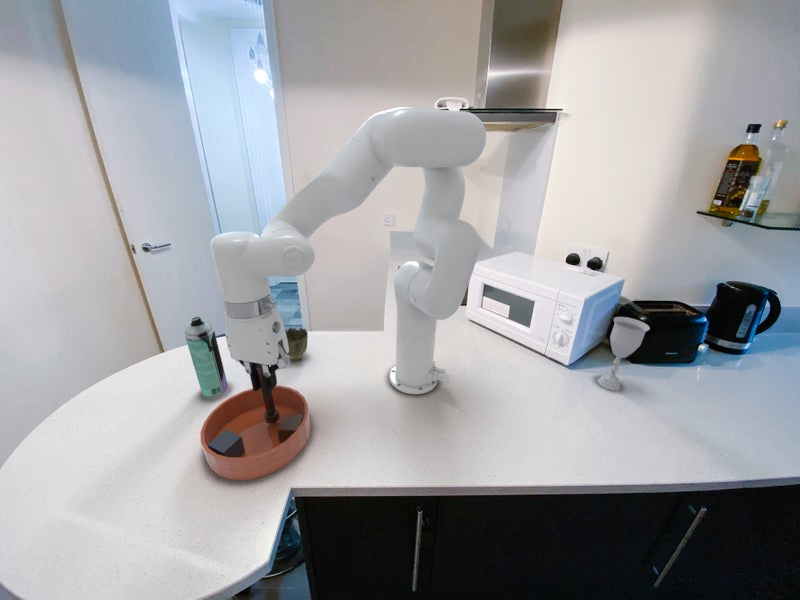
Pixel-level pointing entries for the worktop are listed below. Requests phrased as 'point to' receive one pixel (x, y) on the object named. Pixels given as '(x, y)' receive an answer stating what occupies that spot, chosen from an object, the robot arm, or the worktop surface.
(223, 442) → the slate block
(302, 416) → the walnut block
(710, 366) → the worktop surface
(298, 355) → the cup
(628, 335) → the chalice
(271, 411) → the muddler
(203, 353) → the spray can
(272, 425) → the bowl
